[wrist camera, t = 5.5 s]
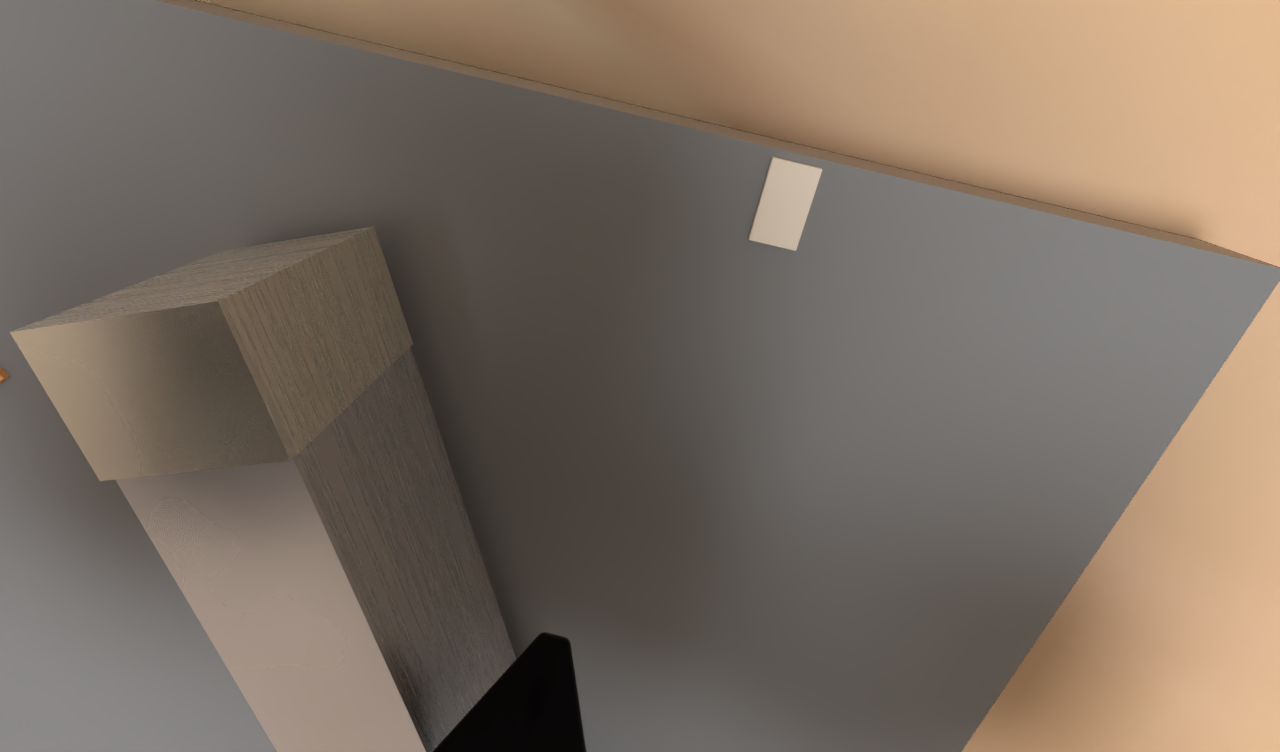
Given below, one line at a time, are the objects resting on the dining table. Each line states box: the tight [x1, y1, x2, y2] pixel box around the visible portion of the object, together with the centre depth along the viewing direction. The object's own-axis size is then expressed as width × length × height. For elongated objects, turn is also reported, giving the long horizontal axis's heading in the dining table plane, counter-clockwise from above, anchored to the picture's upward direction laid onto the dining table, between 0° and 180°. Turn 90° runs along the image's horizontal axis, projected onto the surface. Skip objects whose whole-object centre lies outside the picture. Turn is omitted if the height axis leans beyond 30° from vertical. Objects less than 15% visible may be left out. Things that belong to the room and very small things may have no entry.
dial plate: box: [0, 0, 1280, 752], centre depth 13 cm, size 20×20×2 cm
